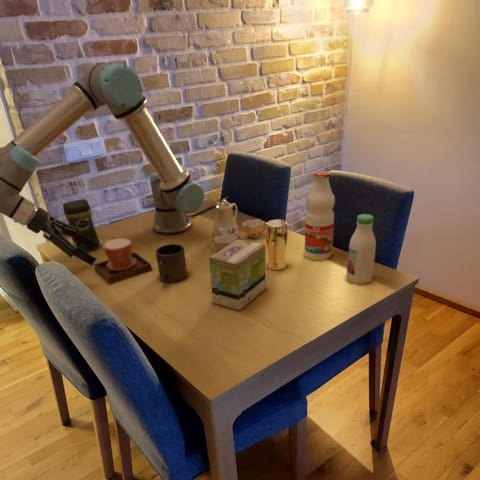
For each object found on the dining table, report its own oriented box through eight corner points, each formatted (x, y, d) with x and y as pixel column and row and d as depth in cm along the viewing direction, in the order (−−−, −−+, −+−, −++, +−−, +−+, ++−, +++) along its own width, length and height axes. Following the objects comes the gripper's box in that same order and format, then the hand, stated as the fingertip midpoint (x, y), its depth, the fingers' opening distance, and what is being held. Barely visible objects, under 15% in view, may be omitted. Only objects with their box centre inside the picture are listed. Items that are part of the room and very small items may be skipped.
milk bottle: (372, 274, 137) (380, 212, 126) (370, 285, 131) (378, 222, 120) (347, 271, 139) (353, 211, 128) (344, 283, 133) (350, 220, 122)
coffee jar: (97, 242, 173) (85, 195, 162) (102, 248, 167) (91, 200, 157) (72, 248, 169) (59, 201, 159) (77, 255, 163) (63, 206, 153)
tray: (135, 257, 158) (134, 251, 156) (152, 269, 148) (150, 263, 147) (95, 270, 151) (93, 264, 149) (109, 284, 141) (108, 277, 140)
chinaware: (230, 264, 152) (231, 219, 142) (192, 251, 159) (190, 207, 149) (269, 235, 172) (272, 194, 162) (233, 225, 179) (234, 185, 169)
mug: (168, 269, 148) (163, 243, 143) (191, 271, 146) (188, 245, 140) (149, 286, 139) (144, 259, 133) (175, 289, 136) (170, 261, 131)
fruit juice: (335, 251, 152) (340, 169, 137) (327, 262, 145) (332, 177, 130) (309, 247, 156) (312, 167, 141) (300, 258, 149) (302, 175, 134)
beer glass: (290, 263, 147) (290, 220, 139) (283, 271, 142) (283, 228, 133) (271, 260, 149) (270, 218, 141) (263, 268, 144) (262, 225, 136)
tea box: (241, 311, 123) (237, 263, 115) (212, 303, 127) (207, 257, 119) (267, 288, 133) (265, 243, 125) (239, 281, 138) (236, 237, 130)
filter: (130, 259, 155) (125, 235, 150) (142, 268, 148) (137, 243, 143) (103, 267, 150) (97, 243, 145) (114, 277, 143) (108, 252, 138)
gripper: (30, 213, 144) (88, 248, 155) (19, 240, 123) (87, 278, 134) (42, 195, 142) (100, 232, 153) (33, 220, 122) (100, 260, 133)
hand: (94, 253), depth 144 cm, fingers open, 13 cm apart
